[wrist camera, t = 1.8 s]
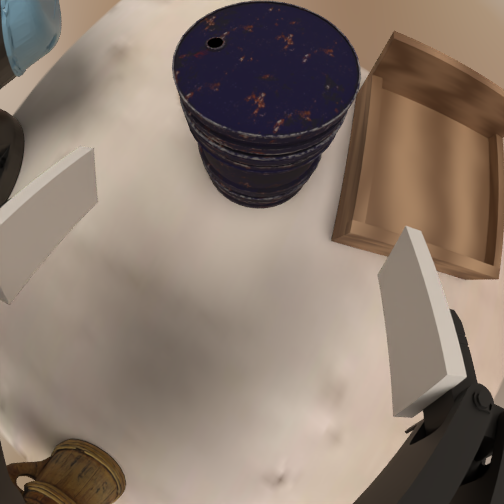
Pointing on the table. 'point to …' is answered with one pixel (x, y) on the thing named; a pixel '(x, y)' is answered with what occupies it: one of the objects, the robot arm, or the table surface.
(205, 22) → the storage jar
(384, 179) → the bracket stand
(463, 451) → the robot arm
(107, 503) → the wooden mug
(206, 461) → the table surface
